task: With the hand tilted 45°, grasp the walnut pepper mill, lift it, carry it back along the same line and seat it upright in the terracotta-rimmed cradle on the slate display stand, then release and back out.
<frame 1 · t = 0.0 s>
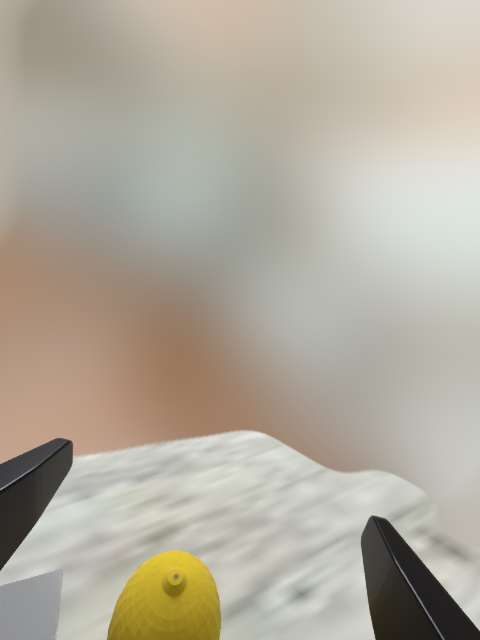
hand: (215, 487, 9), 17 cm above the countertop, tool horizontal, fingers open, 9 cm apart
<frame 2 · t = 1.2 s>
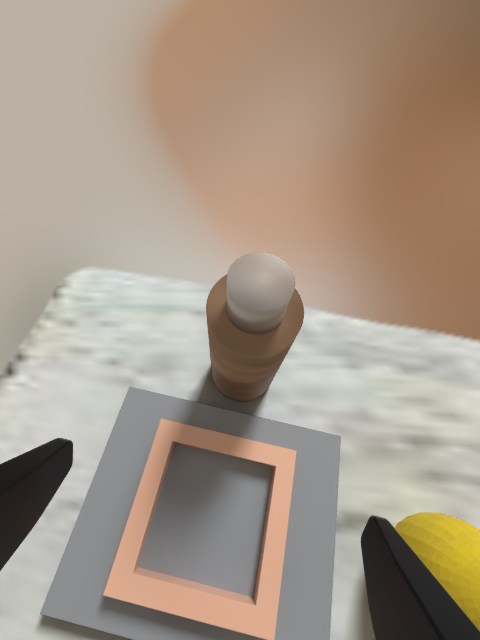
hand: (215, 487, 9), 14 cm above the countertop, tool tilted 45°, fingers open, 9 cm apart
display stand: (211, 511, 20), on the countertop
pepper mill: (242, 370, 25), on the countertop
lemon: (406, 555, 20), on the countertop
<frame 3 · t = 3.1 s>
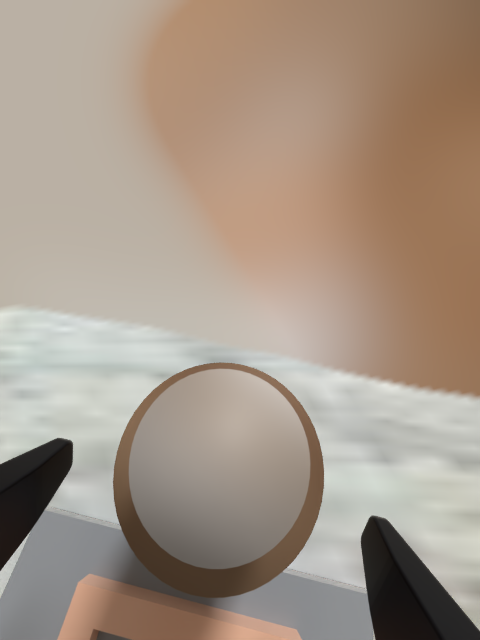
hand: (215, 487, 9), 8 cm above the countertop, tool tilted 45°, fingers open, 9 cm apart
pepper mill: (220, 469, 17), on the countertop
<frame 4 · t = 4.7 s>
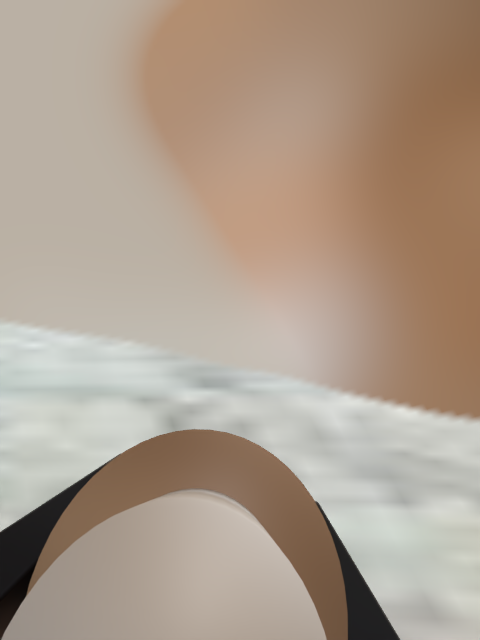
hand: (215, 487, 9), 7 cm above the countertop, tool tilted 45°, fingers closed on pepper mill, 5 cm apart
pepper mill: (210, 514, 14), on the countertop, touching gripper
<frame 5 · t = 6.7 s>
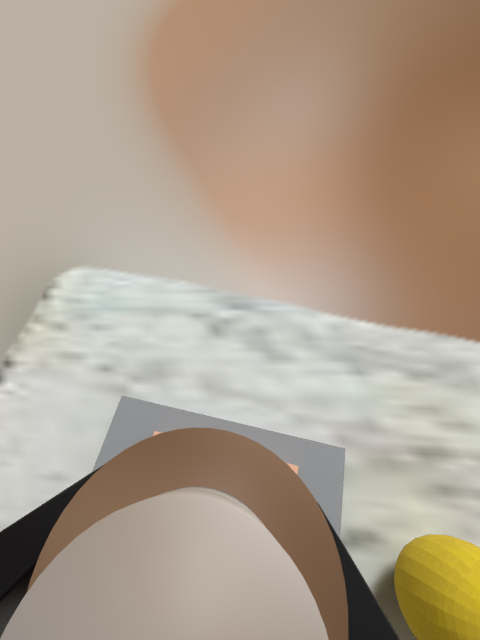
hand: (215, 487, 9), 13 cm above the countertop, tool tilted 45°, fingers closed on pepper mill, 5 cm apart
display stand: (207, 528, 19), on the countertop
pepper mill: (210, 513, 14), point 6 cm above the countertop, touching gripper
lemon: (413, 575, 19), on the countertop
when the fingers open (9 cm above the countertop, at t = 8.6 s): pepper mill drops 2 cm, resting on display stand.
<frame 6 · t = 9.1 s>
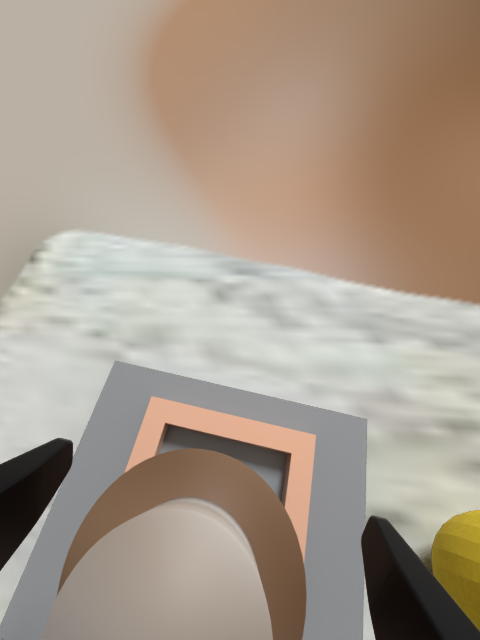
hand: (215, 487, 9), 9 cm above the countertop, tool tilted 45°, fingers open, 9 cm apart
display stand: (212, 508, 16), on the countertop
pepper mill: (211, 513, 15), point 1 cm above the countertop, touching display stand
lemon: (449, 562, 16), on the countertop
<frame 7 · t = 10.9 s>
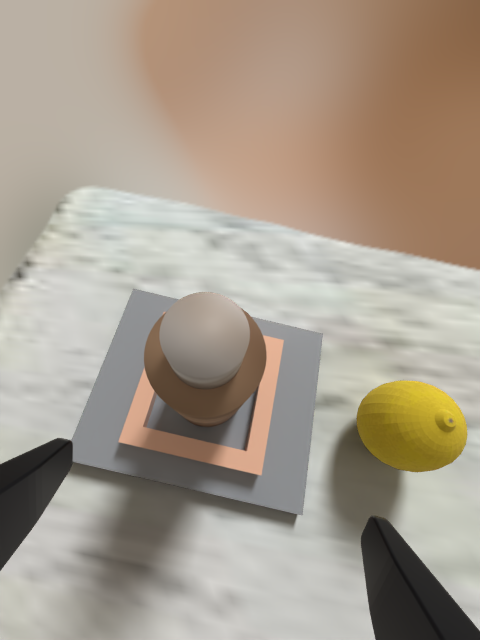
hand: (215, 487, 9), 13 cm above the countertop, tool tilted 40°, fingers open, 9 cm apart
display stand: (208, 391, 23), on the countertop
pepper mill: (208, 390, 22), point 1 cm above the countertop, touching display stand
lemon: (372, 427, 23), on the countertop
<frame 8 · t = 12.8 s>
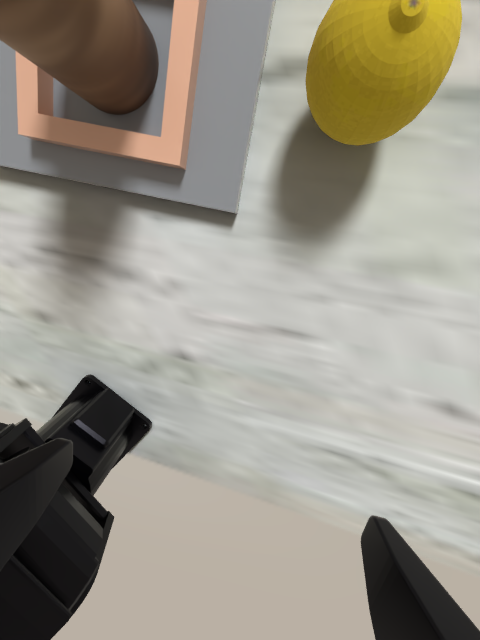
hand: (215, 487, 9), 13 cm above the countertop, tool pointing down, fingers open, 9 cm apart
display stand: (122, 69, 17), on the countertop
pepper mill: (114, 61, 16), point 1 cm above the countertop, touching display stand
lemon: (349, 106, 17), on the countertop
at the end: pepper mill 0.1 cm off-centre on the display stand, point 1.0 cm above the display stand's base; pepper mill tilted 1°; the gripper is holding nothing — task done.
